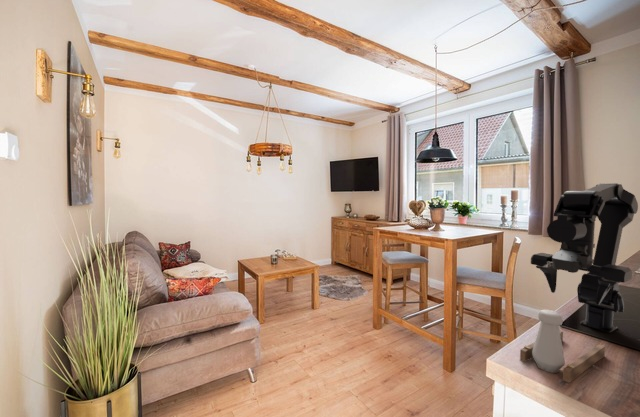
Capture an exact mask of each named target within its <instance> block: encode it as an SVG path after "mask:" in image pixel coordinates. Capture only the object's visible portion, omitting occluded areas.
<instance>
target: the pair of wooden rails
mask: <svg viewBox="0 0 640 417" xmlns="http://www.w3.org/2000/svg"><path fill="white" fill-rule="evenodd" d="M559 330H560V329H559ZM560 336H561V342H562V341H563V340H564V339H563V338H564V331H563V330H560ZM534 344H535V341H534V342H533V343H530V344H529V345H525V346H523V348H520V353H519V361H522V362H527V361H529V360H531V359H532V358H533V355H532V351H533V347H534ZM605 352H606V346H605V345H603V344H597V345H596V346H595V347H593V348H592V349H590V350H588V351H587V352H585V354H583V355H581V356H580V357H579V358H577V359H575V360H574V361H573V362H572V363H569V364H567V365H566V366H565V367H564V368H563V369H562V381H564V382H566V383H571V382H572V381H574V379H576V378H578V377H579V376H580V375H581V374H583V373H584V372H586V371H587V370H588V369H589V368H591V367H592V366H593V365H594V364H596V363H598V361H600V360H601V359H603V358H604V357H605Z"/></svg>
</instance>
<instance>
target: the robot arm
mask: <svg viewBox="0 0 640 417" xmlns="http://www.w3.org/2000/svg"><path fill="white" fill-rule="evenodd" d="M555 207H556V208H555V210H554V213H553V217H557V219H554V220H552V221H551V222H550V223H548V226H547V227H546V233H547V235H548V237H549V238H550V239H551V240H553V241H554V242H556V243H560V244H561V245H560V248H559V250H558V251H556V252H555V253H554V254H553V253H552V254H551V253H546V252H540V253H534V254H532V255H531V257H530V265H534V266H535V268H536V269H539V270H540V271H541V272H542V273H543V274H544V277H545V278H546V281H547V283H548V284H547V285H548V287H549V288H550V292H551V293H553V294H554V293H555V292H556V290H557V277H558V271H560V270H561V271H566V272H568V273H570V274H571V273H572V274H574V273H578V272H579V271H583V272H587V273H583V274H582V275H581V280H580V282H579V283H578V286H577V289H576V290H577V300H578V303H580V304H585V305H586V307H585V308H586V309H585V319H583V320H581V321H580V322H579V324H580V325H583V326H586V327H589V328H592V329H596V330H599V331H602V332H605V333H608V334H610V333H612V332H613V331H615V330H617V329H618V326H617V325H616V324H615V325H614V313H616V314H617V313H624V311H625V302H624V298H623V296H622V294H621V291H620V285H619V284H620V283H626V282H628V281H632V279H633V271H632V270H631V268H630V267H629V266H622V265H616V264H617V259H618V254H619V250H620V242H621V239H622V233H623V228H625V227H626V226H628V225H629V224H630V223H631V222H633V220H634V216H635V214H637V212H638V209H639V203H638V200H637V198H636V196H635V194H633V193H632V192H630V191H628V190H626V189H624V187H623V185H622V183H621V184H619V183H599V184H596V185H594V186H593V187H590V188H587V189H585V190H567V191H564V193H563V194H561V196H560V197H559V200H558V202H557V205H556V206H555ZM596 218H597V219H598V221H599V222H600V228H599V234H598V237H597V244H596V243H595V242H594V241H595V240H594V238H595V227H596V226H595V225H596V222H595V221H596V220H597V219H596ZM594 248H595V253H594ZM593 255H594V256H593Z"/></svg>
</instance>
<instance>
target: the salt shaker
mask: <svg viewBox="0 0 640 417" xmlns="http://www.w3.org/2000/svg"><path fill="white" fill-rule="evenodd" d="M537 317H538V320H539V321H540V324H539V327H538V330H537V333H536V338H535V340H534V342H535V344H534V347H533V351H532V355H533V357H532V358H533V360H534V362H535V363H536V365H537V367H538V368H539V369H541V370H542V371H545V372H547V373H553V374H554V373H555V374H558V373H559V371H560V370H562V368H563V367H564V366H565V363H566V362H565V356H564V349H563V344H562V343H563V342H562V341H561V336H560V326H562V324H563V322H564V319H563V316H562V314H560V313H559V312H558V311H555V310H551V309H541V310H539V311H538V314H537Z"/></svg>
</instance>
